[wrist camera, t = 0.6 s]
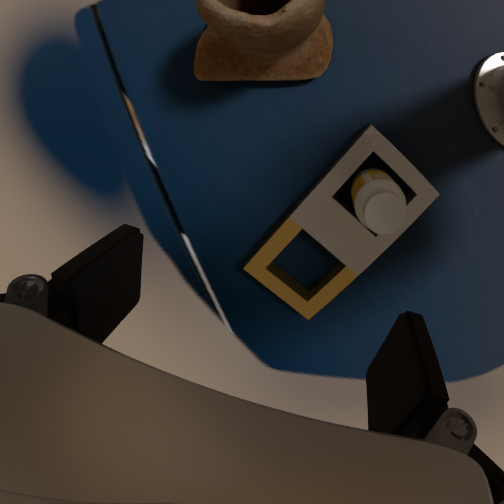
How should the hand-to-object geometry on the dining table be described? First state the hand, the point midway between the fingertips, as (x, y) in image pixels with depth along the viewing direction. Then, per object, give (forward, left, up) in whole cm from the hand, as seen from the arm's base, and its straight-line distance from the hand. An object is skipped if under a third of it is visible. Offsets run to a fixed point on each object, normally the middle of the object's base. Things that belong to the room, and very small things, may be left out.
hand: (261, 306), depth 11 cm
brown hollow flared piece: (-9, -14, -29) cm, 33 cm away
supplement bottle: (-3, +7, -29) cm, 30 cm away
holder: (+3, +7, -29) cm, 30 cm away
